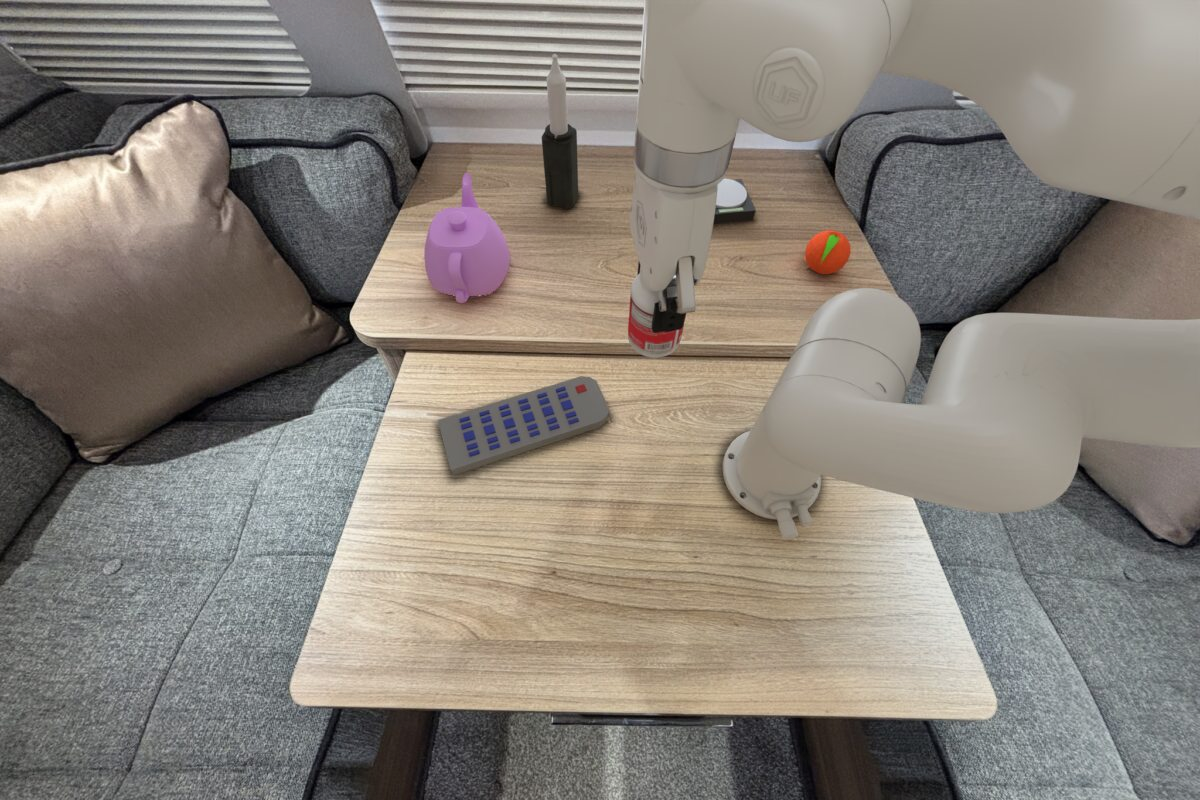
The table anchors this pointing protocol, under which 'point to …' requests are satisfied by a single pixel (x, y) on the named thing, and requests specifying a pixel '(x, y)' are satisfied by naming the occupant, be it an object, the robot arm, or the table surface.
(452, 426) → the remote control
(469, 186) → the teapot
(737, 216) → the scale
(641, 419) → the table surface
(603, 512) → the table surface
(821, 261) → the clementine
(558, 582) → the table surface
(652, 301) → the pill bottle
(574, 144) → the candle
